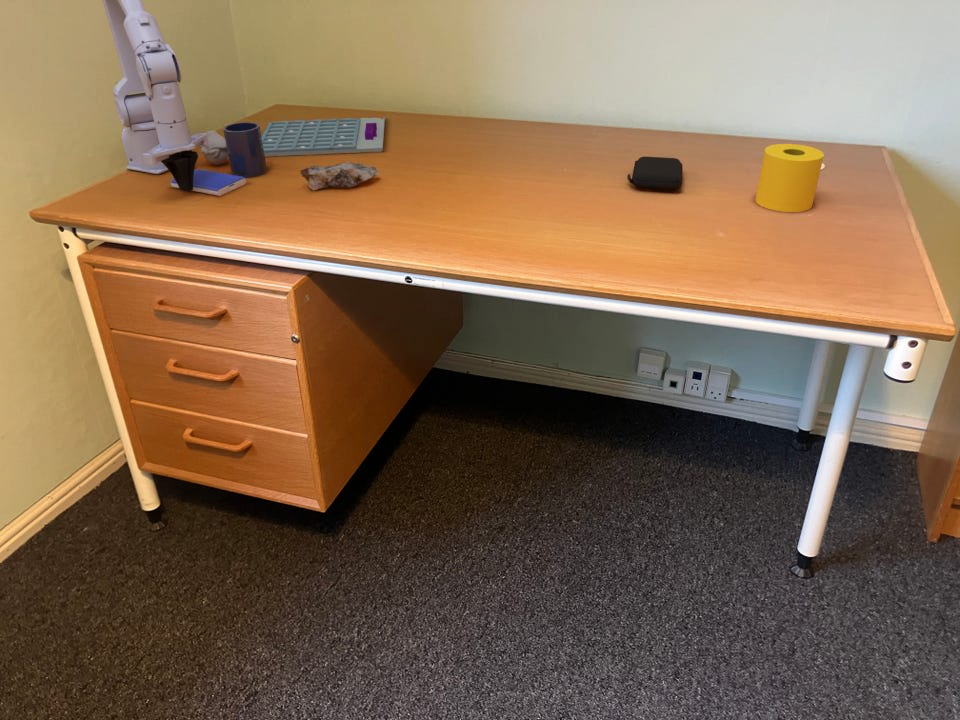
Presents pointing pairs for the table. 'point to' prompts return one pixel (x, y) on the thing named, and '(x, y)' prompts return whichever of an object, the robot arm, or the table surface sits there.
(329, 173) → the mineral rock
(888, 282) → the table surface
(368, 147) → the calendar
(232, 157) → the pen cup
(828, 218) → the table surface
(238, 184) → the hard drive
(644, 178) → the carrying case
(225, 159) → the grey rounded lump
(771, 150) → the yellow toilet paper roll
